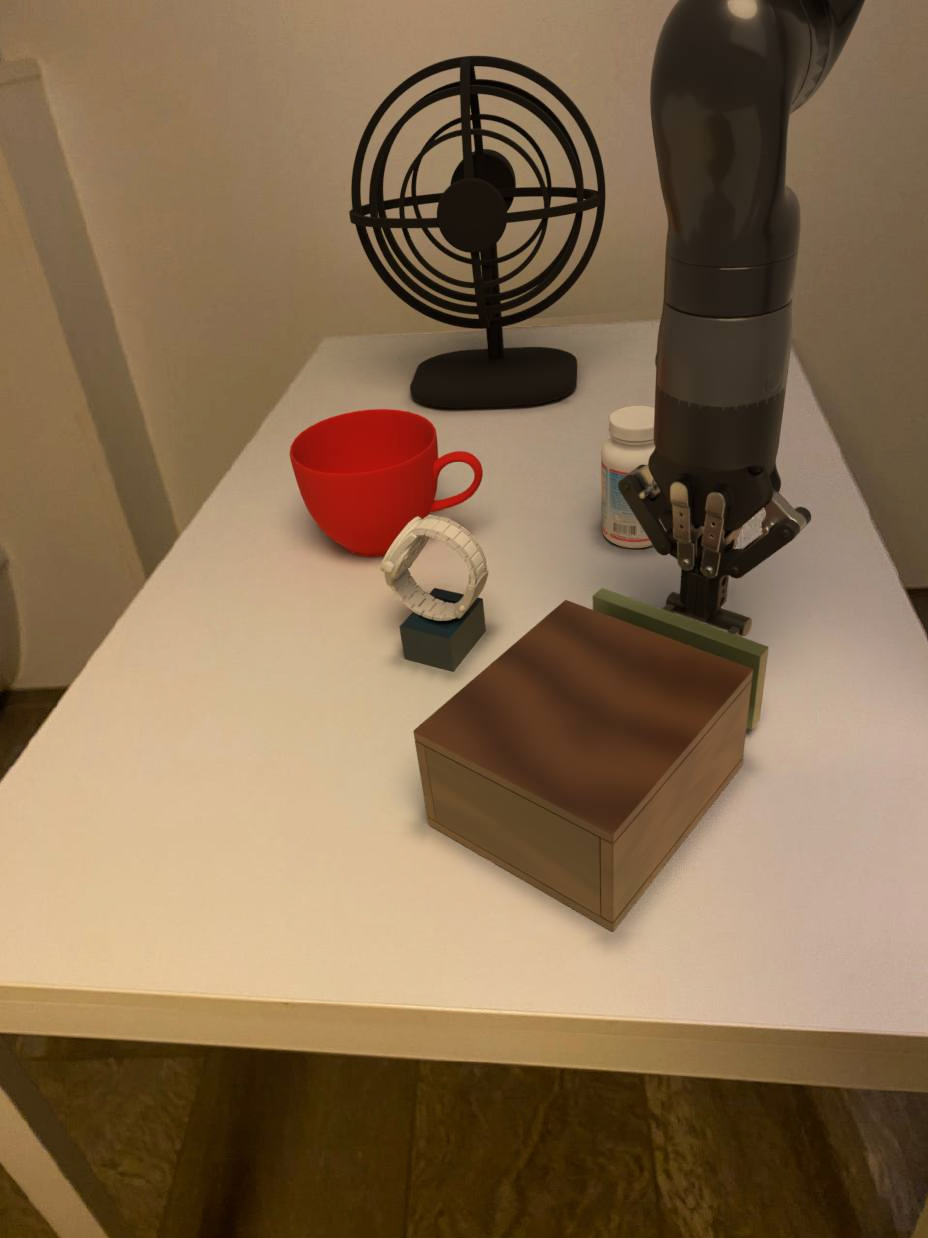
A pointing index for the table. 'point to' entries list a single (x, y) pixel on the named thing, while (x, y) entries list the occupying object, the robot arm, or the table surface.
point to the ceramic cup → (373, 475)
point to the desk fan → (481, 238)
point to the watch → (437, 595)
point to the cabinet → (585, 756)
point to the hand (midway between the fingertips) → (701, 611)
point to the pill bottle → (625, 472)
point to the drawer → (696, 634)
